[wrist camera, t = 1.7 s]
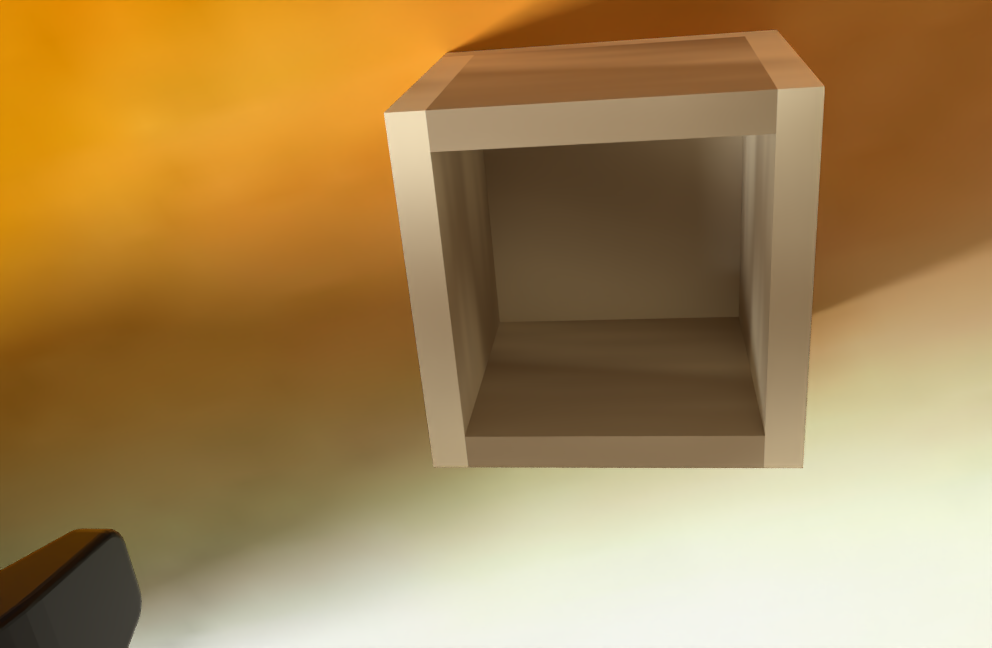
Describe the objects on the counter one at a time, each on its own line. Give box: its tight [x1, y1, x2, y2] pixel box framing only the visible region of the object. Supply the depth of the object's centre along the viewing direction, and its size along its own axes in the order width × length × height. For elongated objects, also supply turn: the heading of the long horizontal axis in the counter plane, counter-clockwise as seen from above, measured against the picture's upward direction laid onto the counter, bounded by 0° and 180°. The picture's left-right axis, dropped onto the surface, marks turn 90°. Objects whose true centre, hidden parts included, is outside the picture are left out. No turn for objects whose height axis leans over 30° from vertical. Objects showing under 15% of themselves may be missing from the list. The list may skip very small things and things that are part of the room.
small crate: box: [384, 30, 825, 468], centre depth 16 cm, size 6×6×5 cm
